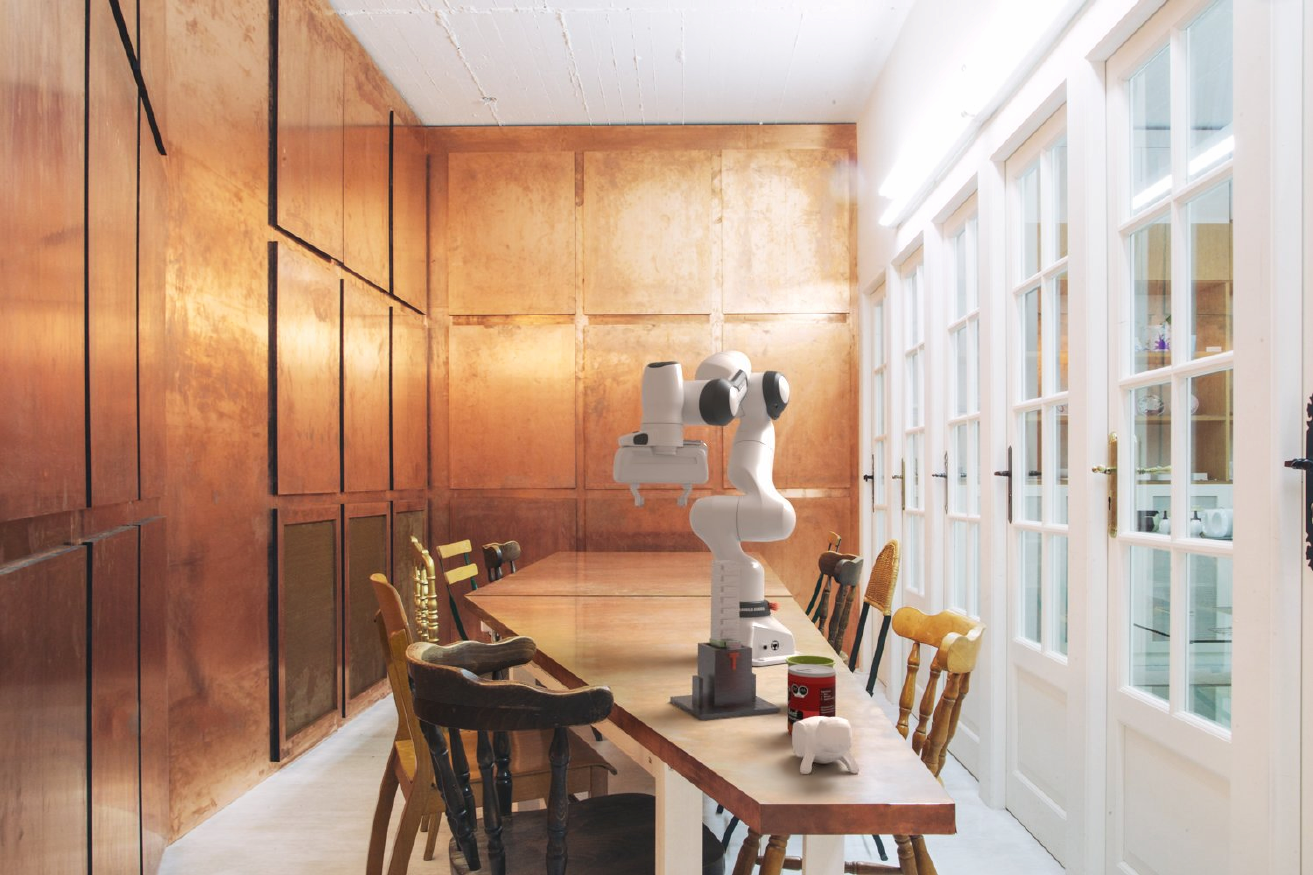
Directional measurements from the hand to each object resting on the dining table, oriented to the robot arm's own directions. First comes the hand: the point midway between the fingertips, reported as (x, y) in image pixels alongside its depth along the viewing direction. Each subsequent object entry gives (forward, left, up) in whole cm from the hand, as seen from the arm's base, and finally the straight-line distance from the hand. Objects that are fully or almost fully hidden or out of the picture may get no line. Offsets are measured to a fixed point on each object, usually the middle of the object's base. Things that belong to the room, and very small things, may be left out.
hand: (661, 505), depth 183 cm
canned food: (-12, +39, -37) cm, 55 cm away
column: (-6, +18, -30) cm, 35 cm away
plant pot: (-22, +22, -37) cm, 49 cm away
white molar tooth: (-5, +55, -38) cm, 67 cm away
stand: (-6, +18, -37) cm, 42 cm away
